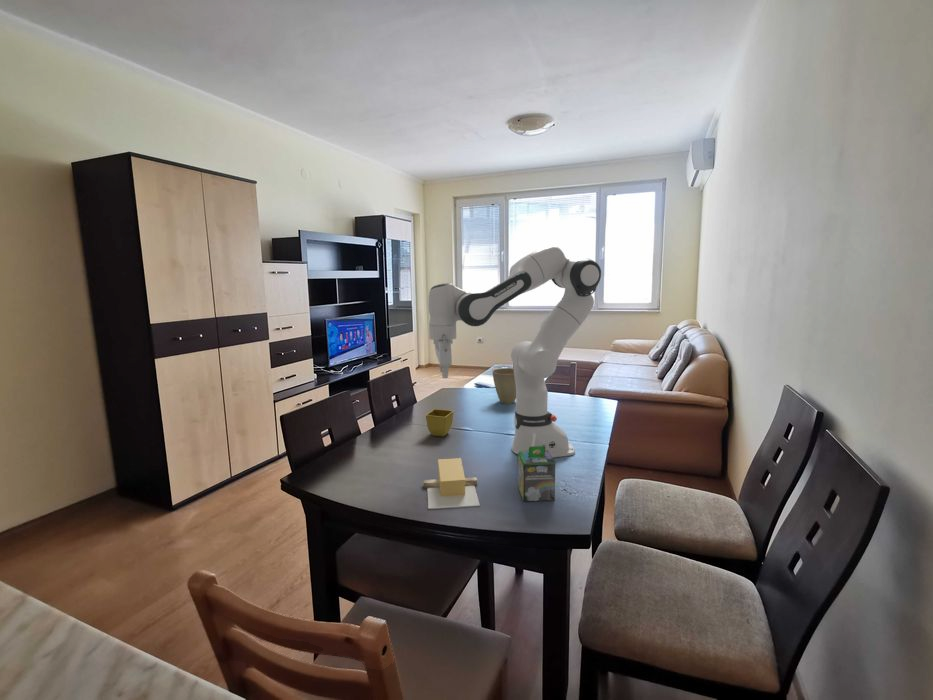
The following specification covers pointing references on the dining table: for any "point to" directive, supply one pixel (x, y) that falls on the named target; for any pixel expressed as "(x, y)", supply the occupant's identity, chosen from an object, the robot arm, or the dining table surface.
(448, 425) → the flower pot
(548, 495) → the chalk box
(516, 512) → the dining table surface
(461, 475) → the ochre block
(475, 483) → the beech kerb
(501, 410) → the dining table surface
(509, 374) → the plant pot
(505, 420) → the dining table surface
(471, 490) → the felt mat
